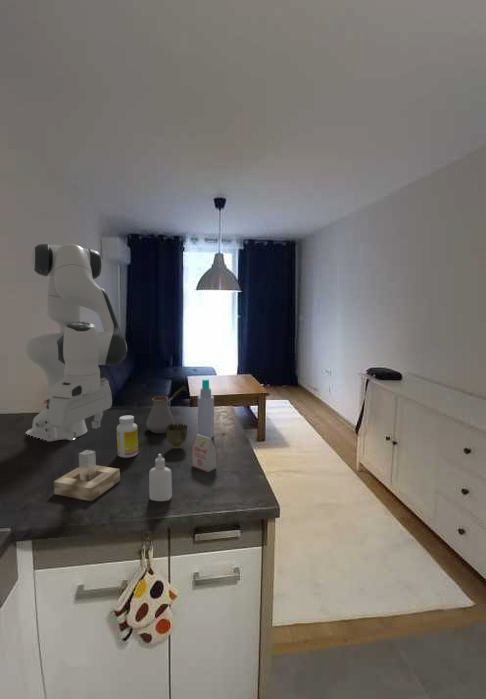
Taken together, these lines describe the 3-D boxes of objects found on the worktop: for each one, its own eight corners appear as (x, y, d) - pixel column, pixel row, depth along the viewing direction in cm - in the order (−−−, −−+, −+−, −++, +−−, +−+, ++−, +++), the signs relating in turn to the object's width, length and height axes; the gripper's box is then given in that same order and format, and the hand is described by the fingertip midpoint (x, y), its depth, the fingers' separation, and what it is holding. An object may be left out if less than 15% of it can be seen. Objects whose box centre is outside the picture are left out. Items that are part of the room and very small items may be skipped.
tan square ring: (54, 493, 103) (53, 481, 102) (85, 474, 114) (84, 463, 113) (91, 501, 99) (91, 488, 98) (120, 480, 110) (119, 469, 110)
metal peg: (80, 488, 105) (78, 453, 104) (87, 483, 108) (86, 449, 107) (89, 490, 105) (87, 455, 103) (96, 485, 107) (95, 451, 106)
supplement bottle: (142, 452, 131) (141, 415, 129) (130, 459, 125) (129, 421, 123) (125, 449, 133) (124, 413, 132) (113, 456, 127) (111, 419, 125)
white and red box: (200, 462, 123) (199, 432, 122) (215, 468, 119) (215, 437, 118) (191, 466, 120) (191, 435, 119) (207, 472, 116) (207, 440, 115)
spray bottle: (206, 440, 142) (206, 382, 139) (194, 437, 146) (194, 380, 143) (217, 436, 147) (217, 379, 144) (205, 432, 150) (205, 377, 148)
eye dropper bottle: (159, 491, 104) (158, 449, 102) (174, 497, 101) (173, 453, 99) (147, 498, 100) (145, 454, 99) (162, 505, 97) (161, 459, 96)
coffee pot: (161, 436, 146) (161, 398, 144) (139, 431, 151) (138, 394, 149) (196, 421, 164) (195, 387, 162) (175, 417, 170) (174, 384, 168)
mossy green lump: (183, 453, 130) (182, 430, 129) (162, 451, 132) (162, 428, 131) (190, 445, 137) (190, 423, 136) (171, 443, 139) (170, 422, 138)
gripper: (98, 375, 113) (100, 420, 115) (43, 390, 94) (45, 444, 96) (116, 377, 111) (118, 423, 113) (63, 393, 92) (66, 448, 94)
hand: (84, 433), depth 105 cm, fingers open, 8 cm apart
